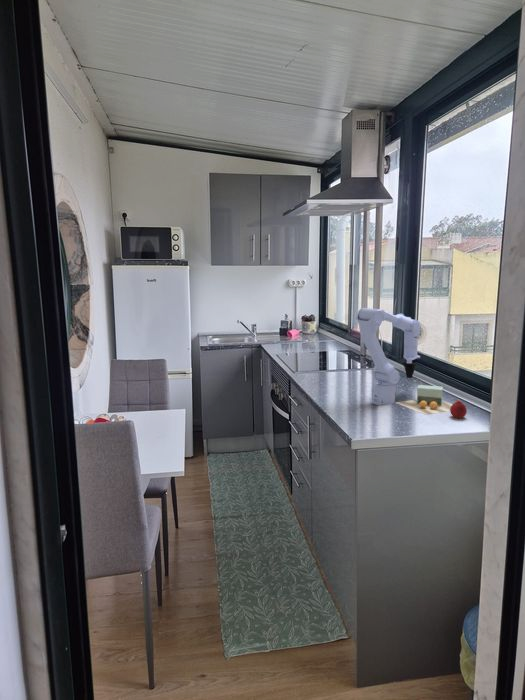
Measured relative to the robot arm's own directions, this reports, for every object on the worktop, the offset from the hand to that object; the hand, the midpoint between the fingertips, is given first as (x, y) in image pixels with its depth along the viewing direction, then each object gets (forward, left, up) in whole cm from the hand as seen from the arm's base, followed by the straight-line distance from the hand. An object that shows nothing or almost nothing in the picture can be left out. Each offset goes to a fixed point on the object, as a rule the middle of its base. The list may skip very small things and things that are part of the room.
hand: (410, 375), depth 205 cm
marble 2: (-4, -20, -8) cm, 21 cm away
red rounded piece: (-4, -32, -11) cm, 34 cm away
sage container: (0, -13, -9) cm, 16 cm away
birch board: (-3, -15, -10) cm, 18 cm away
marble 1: (-7, -17, -8) cm, 20 cm away
